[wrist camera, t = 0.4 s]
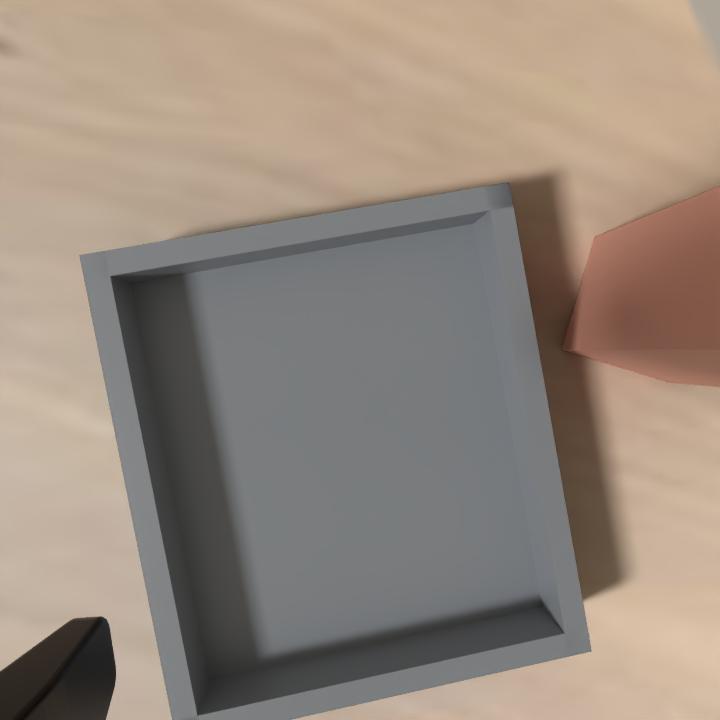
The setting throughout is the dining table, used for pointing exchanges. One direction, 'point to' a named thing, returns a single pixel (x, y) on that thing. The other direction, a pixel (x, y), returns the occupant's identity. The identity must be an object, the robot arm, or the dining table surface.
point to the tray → (338, 455)
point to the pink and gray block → (655, 295)
